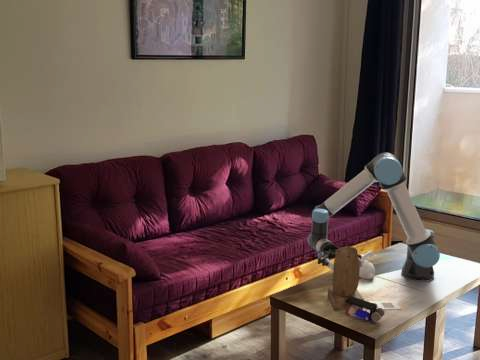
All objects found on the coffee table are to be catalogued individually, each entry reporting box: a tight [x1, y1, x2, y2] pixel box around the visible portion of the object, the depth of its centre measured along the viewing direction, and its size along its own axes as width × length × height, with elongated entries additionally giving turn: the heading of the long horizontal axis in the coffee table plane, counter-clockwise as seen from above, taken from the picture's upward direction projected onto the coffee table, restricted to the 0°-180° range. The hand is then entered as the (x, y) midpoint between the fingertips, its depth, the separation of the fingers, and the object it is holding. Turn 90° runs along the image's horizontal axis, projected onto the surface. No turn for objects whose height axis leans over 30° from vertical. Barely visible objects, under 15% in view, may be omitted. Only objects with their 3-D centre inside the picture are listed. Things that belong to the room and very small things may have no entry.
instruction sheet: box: [365, 300, 402, 311], centre depth 247 cm, size 15×8×1 cm, turn 94°
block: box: [332, 245, 360, 297], centre depth 245 cm, size 11×8×20 cm
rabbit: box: [359, 249, 376, 280], centre depth 278 cm, size 12×9×12 cm
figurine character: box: [344, 296, 386, 325], centre depth 234 cm, size 7×8×15 cm
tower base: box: [327, 286, 364, 312], centre depth 247 cm, size 12×13×5 cm
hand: (347, 265), depth 244 cm, fingers open, 13 cm apart
